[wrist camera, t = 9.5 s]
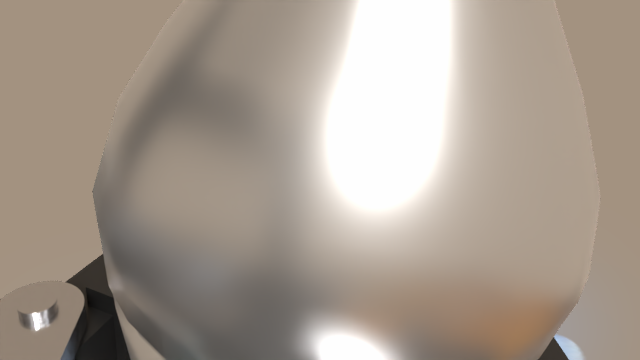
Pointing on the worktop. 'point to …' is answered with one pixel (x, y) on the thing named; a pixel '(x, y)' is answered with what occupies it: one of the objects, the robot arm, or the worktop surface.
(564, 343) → the worktop surface
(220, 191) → the plastic bottle
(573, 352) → the worktop surface
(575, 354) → the worktop surface
